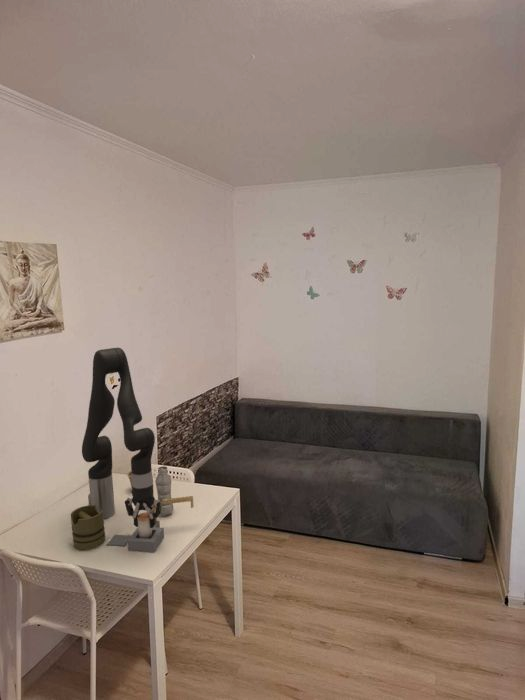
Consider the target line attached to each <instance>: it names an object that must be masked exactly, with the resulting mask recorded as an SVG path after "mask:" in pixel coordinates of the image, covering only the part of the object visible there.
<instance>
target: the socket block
mask: <svg viewBox="0 0 525 700" xmlns="http://www.w3.org/2000/svg"><path fill="white" fill-rule="evenodd" d="M154 511H155V512H156V507H155V506H154ZM155 521H156V524H155V526H154V527H153V528H152V537H151V539H146V538H139V531H138V527H136V529H135V530H134V531H133V533H132V534H130V535H131V536H130V538H129V539H128V540H127V544H126V545H127V551H128V552H140V553H141V552H142V553H155V552H156V551H157V549H158V548H159V546H160V545H161V544H162V542H163V540H164V539H165V529H164V527H161V525H160V524H161V523H160V522H161V521H160V520H158V518H155Z"/></svg>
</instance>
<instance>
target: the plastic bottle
mask: <svg viewBox="0 0 525 700" xmlns="http://www.w3.org/2000/svg"><path fill="white" fill-rule="evenodd" d="M168 472H169V470H168V467H167V466H164V465H163V466H159V467H158V468H157V473H158V474H157V476H156V477H155V480H154V482H155V486H156V493H157V500H162V499H171V498H172V492H171V491H172V477H171V475H170V474H169V473H168ZM173 512H174V503H171V504H163V505H162V507H161V513H160V515H159V516H169V515H172V513H173Z"/></svg>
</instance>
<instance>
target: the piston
mask: <svg viewBox="0 0 525 700" xmlns="http://www.w3.org/2000/svg"><path fill="white" fill-rule="evenodd" d="M70 522H71V523H70V524H71V532H72V533H71V534H72V543H73V546H72V547H73V548H74V549H75V550H77V551H80V552H81V551H82V552H84V551H91V550H95V549H97V548H99V547H101V546H102V545H103V544H104V543H105V542H106V532H105V531H106V529H105V519H104V516H103V510H101V512H99V511H98V510H97V508H96V505H89V504H88V505H83V506H80V507H77V508H75V509H74V510H73V511H71V513H70Z"/></svg>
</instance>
